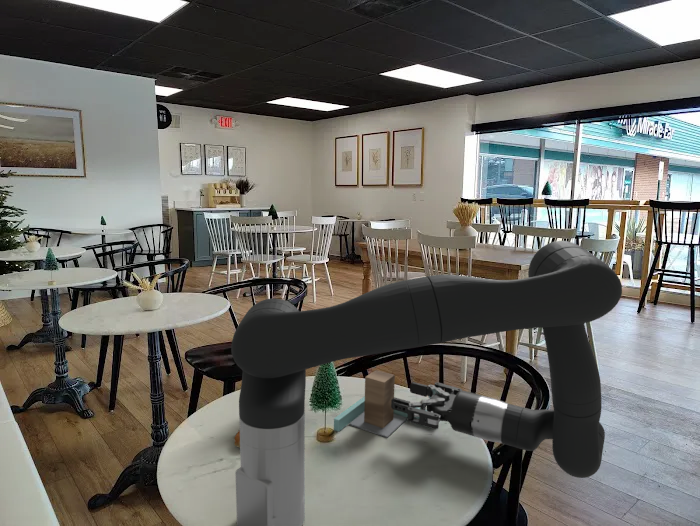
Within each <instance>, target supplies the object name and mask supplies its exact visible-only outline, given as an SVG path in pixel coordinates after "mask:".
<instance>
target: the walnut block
mask: <svg viewBox="0 0 700 526" xmlns="http://www.w3.org/2000/svg"><path fill="white" fill-rule="evenodd" d="M395 376H396V375H395V374H392V373H388V372H385V371H382V370H378V369H375V370H374V371H372V372H371V373H369V374H368V375H365V378H364V396H365V407H364V422H366V423H369V424H372V425H374V426H377V427H380V428H384V427H385V426H386V425H387V424H388V423H390V422H391V421H392V420H393V413H394V409H392V408H391V400H392V399H393V398H394V397H395V383H396V381H395V378H396V377H395Z"/></svg>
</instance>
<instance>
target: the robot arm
mask: <svg viewBox="0 0 700 526" xmlns="http://www.w3.org/2000/svg"><path fill="white" fill-rule="evenodd" d="M527 276H528V277H526V278H525V277H524V278H519V279H518V278H517V279H506V280H505V279H502V280H501V279H493V278H481V277H475V276H467V275H466V276H465V275H460V274H458V275H457V274H434V275H427V276H422V277H417V278H416V277H415V278H411V279H406V280H405V279H404V280H400V281H395V282H392V283H389V284H386V285H383V286H380V287H377V288H375V289H372V290H370V291H367V292H365V293H363V294H360V295H359V296H356V297H354V298H352V299H351V298H350V299H349V300H347V301H345V302H342V303H339V304H335V305H331V306H327V307H323V308H315V309H307V310H299V309H298V307H296V306H295V305H294V304H292V303H291V302H289V301H287V300H285V299H282V298H274V297H273V298H266V299H263V300H260V301H258V302H257V303H255V304H253V306H251V307H250V308H249V309H248V310H247V312H245V313H246V314H244V316H243V318H242V319H241V321H240V322H239V324H238V326H236V327H237V328H236V329H235V332H234V333H233V336H232V341H231V347H230V349H231V350H230V351H231V356H232V358H233V361H234V362H235V364H236V366H237V367H238V368H239V369H241V370H242V377H241V385H240V391H239V398H238V413H239V414H238V415H239V417H238V419H239V422H238V423H239V430H240V448H239V453H240V454H239V455H240V457H239V459H240V467H238V468H237V469H236V470H235V474H234V475H235V499H236V500H235V504H236V526H303V525H304V523H305V519H306V518H305V517H306V516H305V515H306V513H305V511H306V510H305V509H306V508H305V505H306V502H305V501H306V499H305V497H306V496H305V495H306V494H305V493H306V492H305V491H306V490H305V489H306V487H305V486H306V485H305V483H306V481H305V479H306V478H305V468H306V467H305V464H306V462H305V461H306V459H305V454H306V453H305V450H306V448H305V447H306V446H305V445H306V443H305V442H306V441H305V440H306V439H305V438H306V437H305V435H306V434H305V433H306V432H305V428H306V427H305V426H306V425H305V418H306V417H305V415H306V414H305V411H306V410H305V407H306V406H305V402H306V401H305V399H306V387H307V386H306V383H307V382H306V381H307V378H306V377H307V376H306V374H307V370H309V369H312V368H315V367H320V366H323V365H326V364H329V363H333V362H336V361H338V362H339V361H341V360H342V361H343V360H347V359H351V358H358V357H365V356H372V355H378V354H383V353H389V352H393V351H401V350H408V349H415V348H416V349H417V348H420V347H425V346H433V345H436V344H437V345H438V344H443V343H447V342H452V341H455V340H462V339H467V338H472V337H473V338H474V337H477V336H478V337H479V336H485V335H493V334H498V333H503V332H509V331H517V330H526V329H527V330H528V329H537V328H538V329H539V328H541V329H542V333H543V336H544V337H543V338H544V342H545V348H546V353H547V359H548V369H549V377H550V388H551V401H552V407H553V409H530V408H527V407H523V406H519V405H517V404H516V405H515V404H511V403H507V402H505V401H503V400H500V399H497V398H495V397H494V398H493V397H491V396H490V397H489V396H485V395H482V394H478V393H475V392H470V391H465V390H463V389H462V388H460V387H456V386H452V385H449V384H445V383H442V382H439V381H438V382H437V381H436V382H434V384H428V385H427V384H422V383H418V382H414V381H412V382H411V383H410V384H409V385H410V386H409V392H410V393H411V394H415V395H416V396H417V395H418V396H422V397H428V399H421V400H420V401H419V402H417V401H413V402H411V401H409V400H405V399H402V398H399V397H395V396H394V398H393V399H392V400H391V408H392V409H394V410H397V411H400V412H404V413H407V414H408V417H407V420H406V421H407V422H409V423H412V424H415V425H419V426H423V427H426V428H429V429H432V430H433V429H434V430H438V429H439V425H440V422H446V423H447V422H448V423H449V424H450V427H451V429H452V430H453V431H455V432H459V433H462V434H465V435H469V436H470V437H475V438H478V439H481V440H485V441H488V442H493V443H500V444H503V445H506V446H509V447H513V448H516V449H520V450H523V451H524V450H525V451H528V452H533V451H535V450H536V449H537V448H538V447H539V446H540V445H541V443H542V442H543V441H545V440H552V441H551V442H552V445H551V446H552V455H553V458H554V460H555V463H556V464H557V465H558V467H559V468H560V469H561V470H562V471H563V472H565V473H566V474H567V475H568V476H569V475H570V476H571V477H575V478H578V479H585V478H590V477H591V476H594V474H596V473H597V472H598V471H599V469H600V467H601V463H602V460H603V459H602V458H603V452H604V444H605V437H606V434H605V433H606V432H605V429H604V426H603V425H602V424H601V422H600V420H601V416H602V415H601V414H602V406H603V405H602V387H601V386H602V384H601V376H600V372H599V367H598V364H597V361H596V358H595V355H594V352H593V350H592V346H591V342H590V340H589V338H588V334H587V330H586V325H585V324H587V323H589V322H590V323H591V322H594V321H596V320H598V319H601V318H603V317H605V315H608V314H609V313H610V312H611V311H612V310H613V309H614V308H615V307H616V306H617V305H618V304H619V301H620V300H621V298H622V294H623V286H622V285H623V284H622V282H621V279H620V277H619V276H618V274H616V272H615V271H614V269H612V268H611V267H610V266H609V265H608V264H607V263H606V262H604V261H603V260H601V259H600V258H598V257H597V256H596V255H594V254H592V253H591V252H590V251H589V250H587V249H585V248H584V247H583V246H580V245H578V244H577V243H574V242H570V241H567V240H555V241H551V242H549V243H547V244H545V245H544V246H542V247H541V248H539V250H537V252H535V254H534V255H533V256H532V259H531V260H530V262H529V267H528V272H527ZM417 408H420V409H417ZM426 410H427V411H426ZM414 417H419V419H418V418H414Z"/></svg>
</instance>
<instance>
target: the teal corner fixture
mask: <svg viewBox="0 0 700 526" xmlns="http://www.w3.org/2000/svg"><path fill="white" fill-rule="evenodd" d="M364 407H365V395H364V396H362V398H360V399H358V400H357V401H356V402H355V403H353V404H352V405H351V406H349V407H348V408H346V409H344V411H342V412H341V413H339V414H338V415H336V416H335V417H334V418H333V431H335V432H340V431H342V430H343V429H344V428H346V427H347V426H348V425H349V426H352V427H355V428H358V429H361V430H363V431H365V432H369V433H373V434H375V435H378V436H381V437H383V438H386V439H388V438H389V437H390V436H391V435H392V434H393V433H395V432H396V431H397V429H399V428H400V427H401V426H402V425H403V424H404V422H406V421H407V417H408V414H407V413H404V412H400V411H397V410H394V413H393V420H392V421H391V422H390V423H388V424H387V425H386V426H385V427H384V428H380V427H377V426H374V425H372V424H369V423H366V422H364ZM417 409H420V407H418V408H417ZM426 411H427V409H426ZM414 418H418V419H419V417H414Z"/></svg>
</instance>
